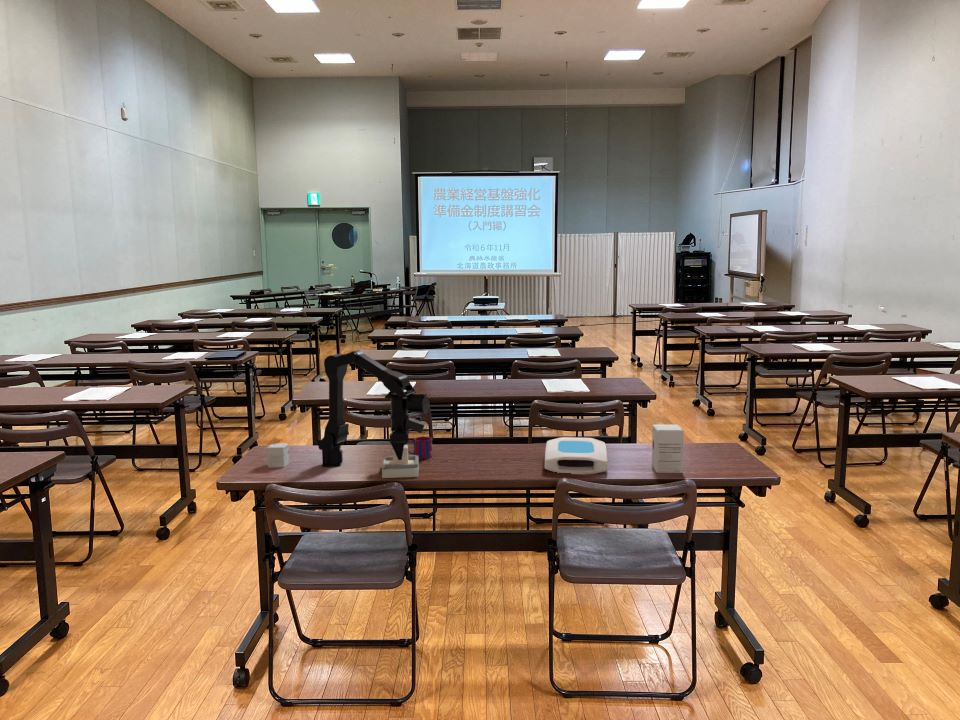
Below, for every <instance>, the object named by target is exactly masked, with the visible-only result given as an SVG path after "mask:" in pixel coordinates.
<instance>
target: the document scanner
mask: <svg viewBox="0 0 960 720" xmlns="http://www.w3.org/2000/svg"><path fill="white" fill-rule="evenodd" d="M563 460H565V461H566V460H567V461H573V460H574V461H591V462H593V466H582V467H581V466H565V465H560V464H559V461H563ZM544 469H545V470H547V471H549V472H553V473H555V472H557V473H556V474H559V473H571V475H595V474H599V473H605V472H608V469H609V468H608V452H607V447H606V443H605V442H604V441H602V440H599V439H596V438H593V437H573V436H572V437H565V436H564V437H563V436H561V437H557V438H554V439H549V440H547V441H546V443H545V452H544Z"/></svg>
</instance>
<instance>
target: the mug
mask: <svg viewBox="0 0 960 720" xmlns="http://www.w3.org/2000/svg"><path fill="white" fill-rule="evenodd" d="M408 443H412V444H413V451H409V450H408V454H409V455H416V456H418V460H419V459H420V460H425V459H426V460H427V459H430V458H432V457H433V438H432V437H430V436H417V437H415V438H413V440H411V439H409V441H408ZM408 443H406V444H405V445H408Z"/></svg>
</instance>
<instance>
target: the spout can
mask: <svg viewBox="0 0 960 720" xmlns="http://www.w3.org/2000/svg"><path fill="white" fill-rule="evenodd" d="M408 451H409V445H408V444H406V445H404V449H403V455H402V460H398V458H397V456H396V453H395V451H394V449H393V448H385V453H386V452H387V453H388V452H390V453H391V452H392V456H393V464H408V455H409V453H408Z"/></svg>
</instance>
